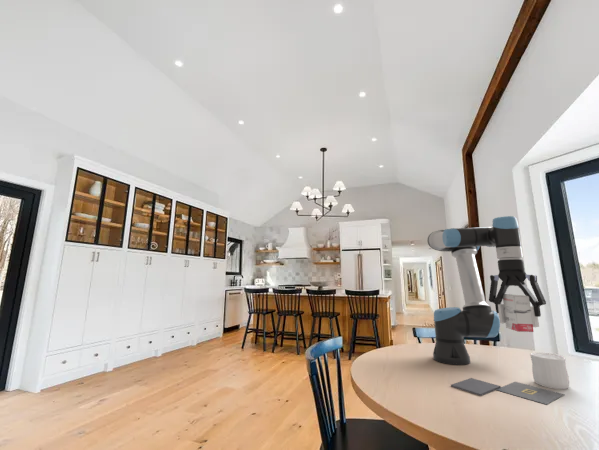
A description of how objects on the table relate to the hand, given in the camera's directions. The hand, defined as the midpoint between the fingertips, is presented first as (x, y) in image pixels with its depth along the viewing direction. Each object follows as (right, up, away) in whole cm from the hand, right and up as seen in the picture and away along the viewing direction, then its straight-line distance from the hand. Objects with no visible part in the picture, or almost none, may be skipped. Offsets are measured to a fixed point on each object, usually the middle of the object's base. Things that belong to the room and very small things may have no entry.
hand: (518, 324), depth 100 cm
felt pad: (-14, -22, +1) cm, 26 cm away
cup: (+14, -22, +3) cm, 26 cm away
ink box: (0, -2, 0) cm, 2 cm away
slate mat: (0, -21, -4) cm, 21 cm away
